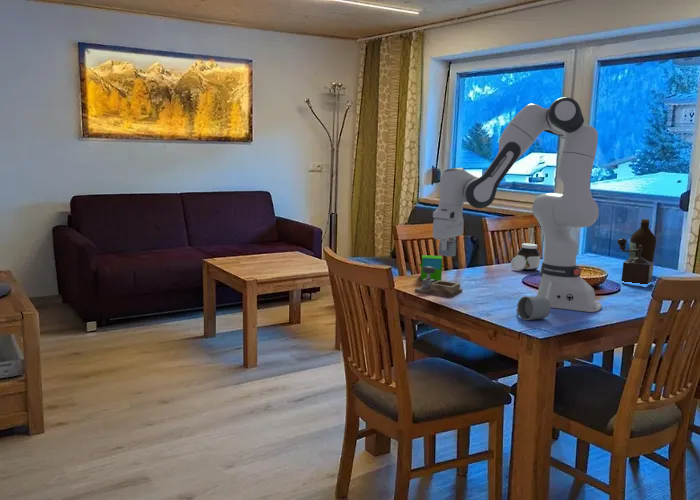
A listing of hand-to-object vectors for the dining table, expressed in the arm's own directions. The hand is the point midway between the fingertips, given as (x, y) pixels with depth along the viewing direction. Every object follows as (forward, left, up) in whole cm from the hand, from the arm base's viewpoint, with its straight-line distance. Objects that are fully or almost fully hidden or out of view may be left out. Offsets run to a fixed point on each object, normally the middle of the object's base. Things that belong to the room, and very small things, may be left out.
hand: (447, 249), depth 236 cm
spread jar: (-11, -66, -17) cm, 69 cm away
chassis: (+2, 0, -16) cm, 17 cm away
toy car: (+14, -19, -17) cm, 29 cm away
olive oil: (-55, -94, -17) cm, 110 cm away
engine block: (0, 0, -2) cm, 2 cm away
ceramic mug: (-36, +14, -17) cm, 42 cm away
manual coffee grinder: (-54, -70, -17) cm, 90 cm away
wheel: (+7, 0, -12) cm, 14 cm away
